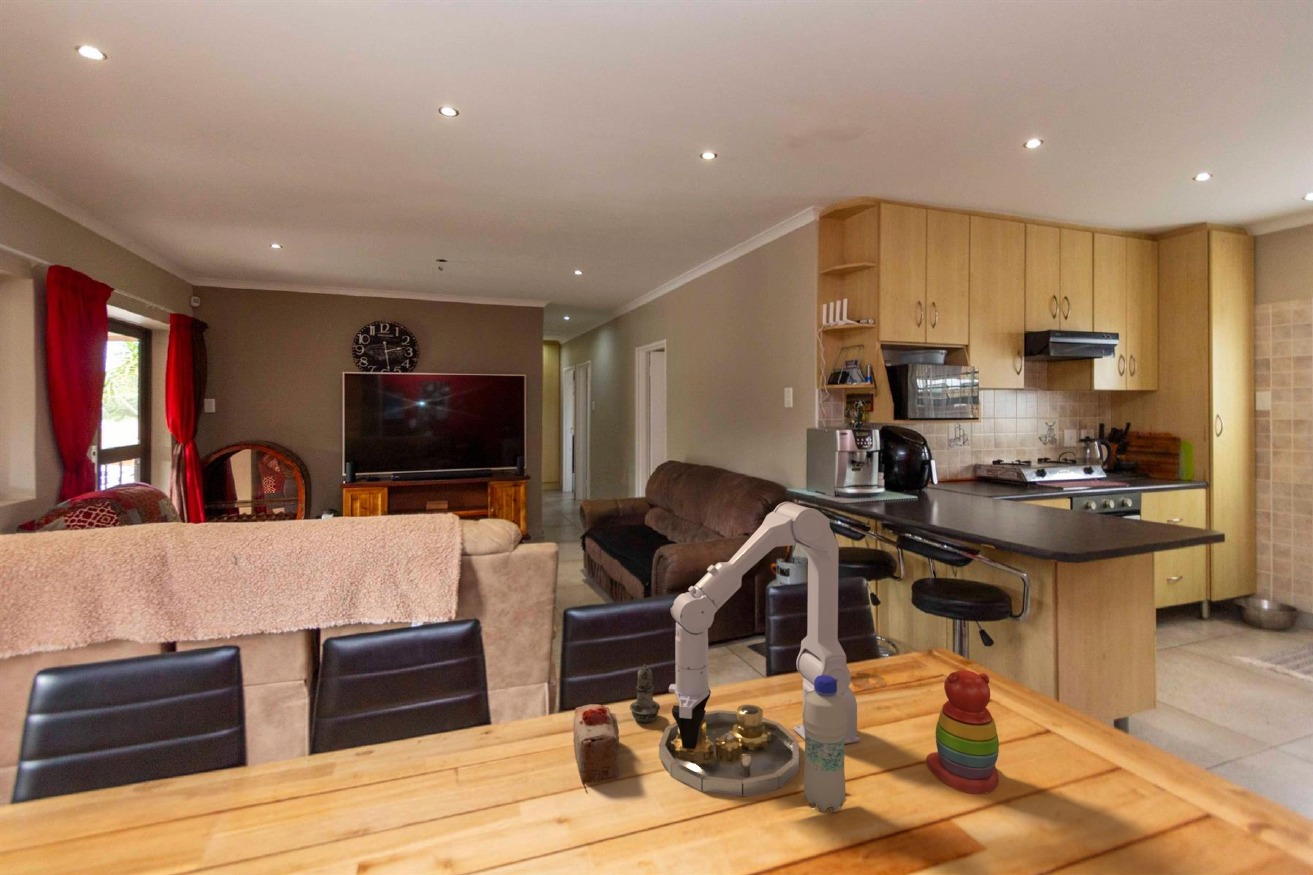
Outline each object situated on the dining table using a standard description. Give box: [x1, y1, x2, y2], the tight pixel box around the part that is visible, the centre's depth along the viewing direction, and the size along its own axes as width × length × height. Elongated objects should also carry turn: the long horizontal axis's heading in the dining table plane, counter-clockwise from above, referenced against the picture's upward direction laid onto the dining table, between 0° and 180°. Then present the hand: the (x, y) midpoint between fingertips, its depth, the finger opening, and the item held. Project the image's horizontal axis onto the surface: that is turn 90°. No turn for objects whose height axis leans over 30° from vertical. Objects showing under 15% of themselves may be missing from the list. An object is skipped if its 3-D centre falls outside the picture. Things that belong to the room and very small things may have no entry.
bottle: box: [802, 675, 848, 813], centre depth 98 cm, size 7×7×20 cm
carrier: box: [658, 704, 801, 797], centre depth 110 cm, size 24×24×7 cm
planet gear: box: [671, 717, 713, 761], centre depth 112 cm, size 7×7×5 cm
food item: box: [572, 703, 621, 789], centre depth 109 cm, size 14×8×10 cm, turn 14°
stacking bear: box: [925, 669, 1000, 795], centre depth 105 cm, size 11×10×18 cm
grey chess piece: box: [629, 663, 661, 723], centre depth 123 cm, size 6×6×12 cm
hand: (692, 739), depth 112 cm, fingers closed on planet gear, 5 cm apart
